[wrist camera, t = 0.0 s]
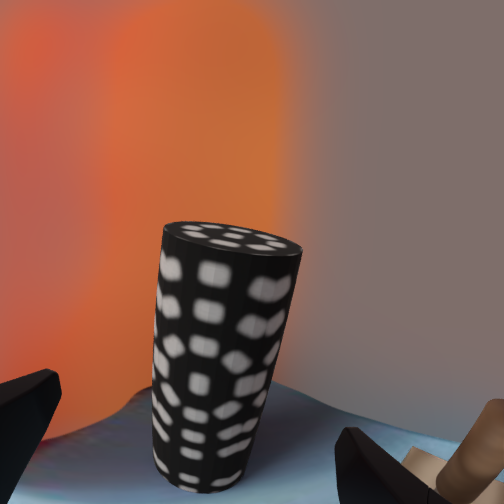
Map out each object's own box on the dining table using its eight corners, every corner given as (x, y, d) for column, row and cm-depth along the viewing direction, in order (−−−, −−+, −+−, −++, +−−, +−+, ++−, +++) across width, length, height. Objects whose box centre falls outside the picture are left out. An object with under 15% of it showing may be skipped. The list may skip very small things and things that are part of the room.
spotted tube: (238, 503, 18) (306, 266, 14) (139, 475, 19) (138, 232, 15) (251, 438, 26) (300, 238, 22) (170, 418, 27) (189, 217, 23)
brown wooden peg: (458, 523, 12) (541, 428, 10) (418, 537, 12) (508, 441, 10) (442, 490, 17) (510, 395, 14) (403, 500, 16) (475, 402, 14)
